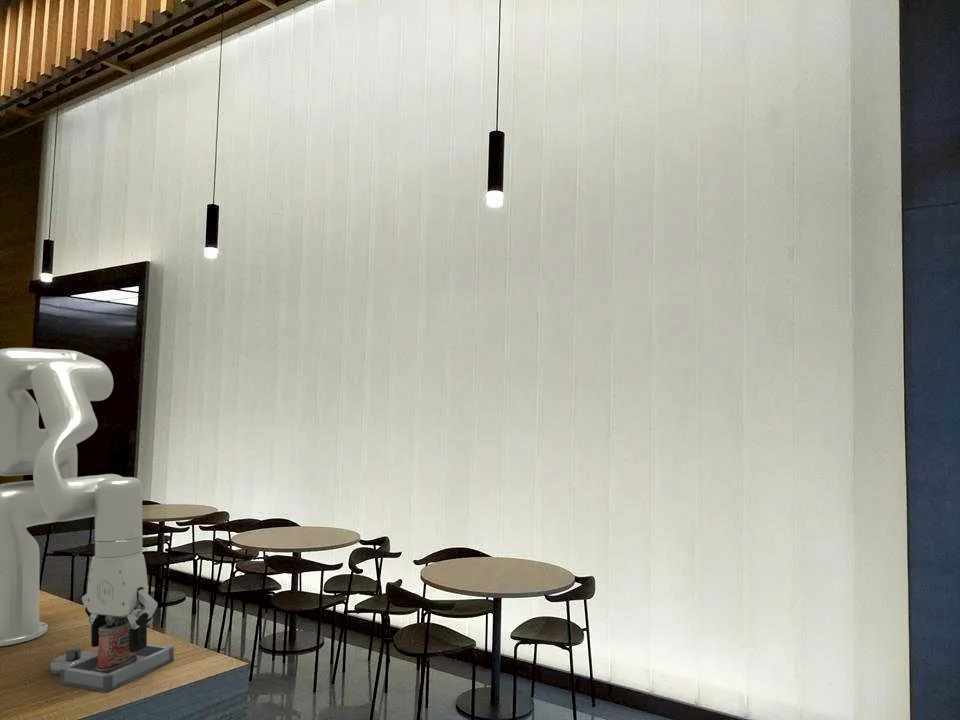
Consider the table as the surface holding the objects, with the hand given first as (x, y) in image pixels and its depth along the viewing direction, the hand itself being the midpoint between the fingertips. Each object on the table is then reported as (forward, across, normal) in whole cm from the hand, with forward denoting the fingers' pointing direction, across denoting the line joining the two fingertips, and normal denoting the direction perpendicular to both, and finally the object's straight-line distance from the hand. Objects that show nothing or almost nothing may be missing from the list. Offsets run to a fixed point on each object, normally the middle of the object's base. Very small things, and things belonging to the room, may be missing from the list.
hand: (118, 646), depth 121 cm
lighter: (+4, -1, 0) cm, 4 cm away
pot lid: (+4, -10, -1) cm, 11 cm away
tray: (+4, 0, 0) cm, 4 cm away
